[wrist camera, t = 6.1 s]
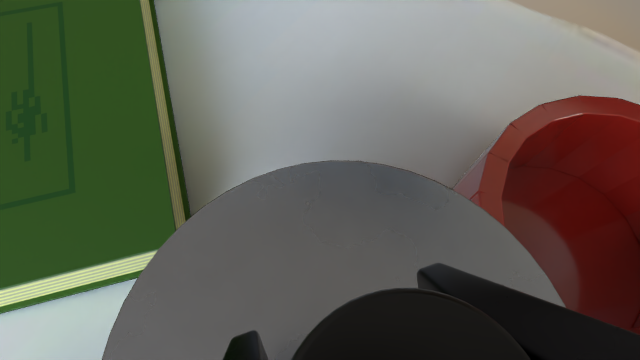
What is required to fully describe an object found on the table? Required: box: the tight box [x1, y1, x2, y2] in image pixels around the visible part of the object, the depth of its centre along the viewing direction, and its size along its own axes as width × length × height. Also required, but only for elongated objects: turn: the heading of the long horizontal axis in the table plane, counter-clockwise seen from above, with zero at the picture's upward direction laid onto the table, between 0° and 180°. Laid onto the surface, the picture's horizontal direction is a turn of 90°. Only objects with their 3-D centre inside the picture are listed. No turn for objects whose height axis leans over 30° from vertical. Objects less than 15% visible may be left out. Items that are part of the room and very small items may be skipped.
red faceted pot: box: [452, 95, 640, 334], centre depth 18 cm, size 11×11×6 cm
